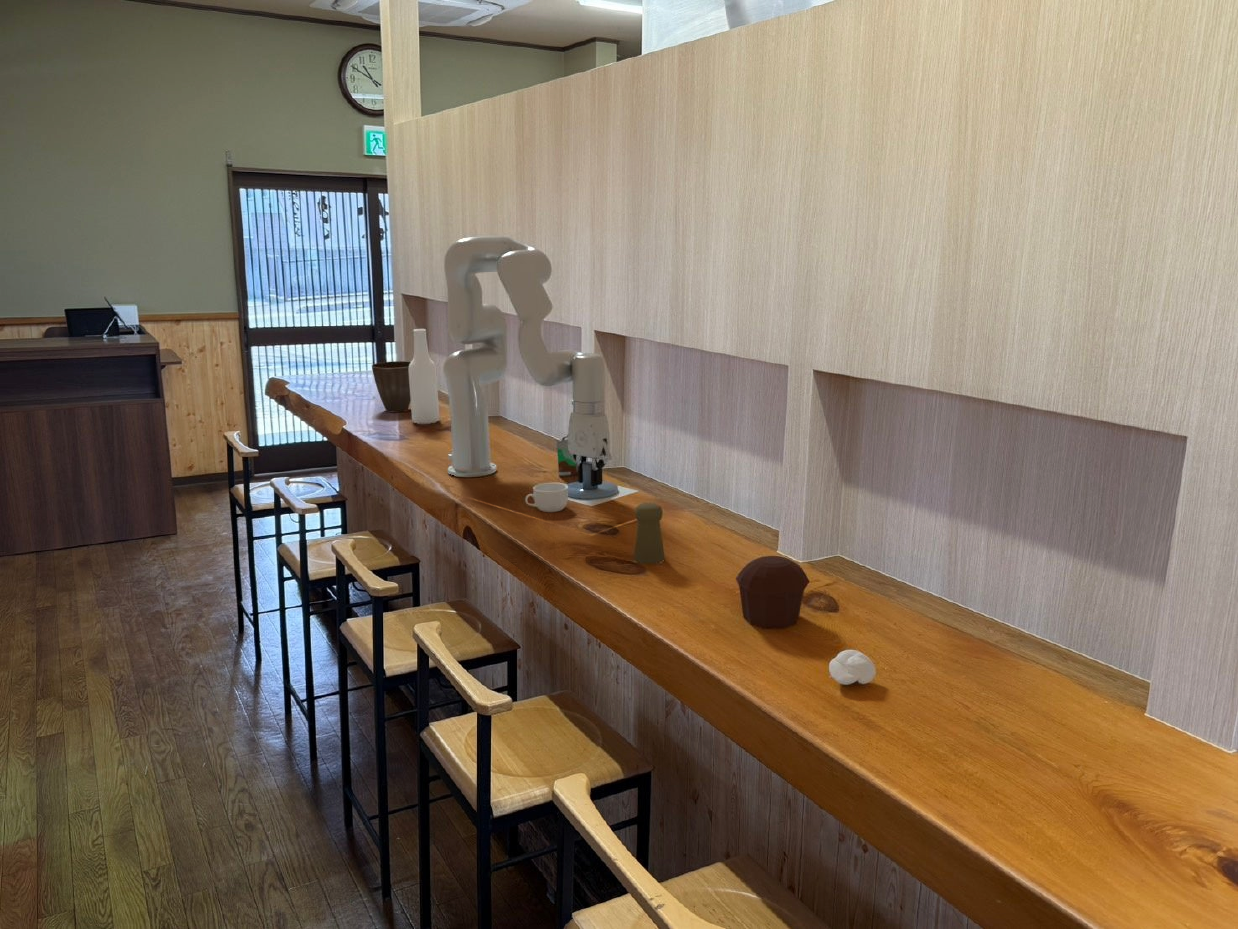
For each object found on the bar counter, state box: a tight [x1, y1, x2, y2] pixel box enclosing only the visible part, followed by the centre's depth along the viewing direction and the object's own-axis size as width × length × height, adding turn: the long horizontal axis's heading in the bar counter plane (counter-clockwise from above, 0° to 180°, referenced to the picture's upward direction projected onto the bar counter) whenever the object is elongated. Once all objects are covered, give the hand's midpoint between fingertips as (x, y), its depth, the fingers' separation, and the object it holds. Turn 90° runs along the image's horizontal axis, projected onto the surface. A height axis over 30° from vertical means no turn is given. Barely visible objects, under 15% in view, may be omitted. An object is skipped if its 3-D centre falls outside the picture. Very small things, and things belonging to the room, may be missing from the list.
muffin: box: [735, 555, 810, 630], centre depth 152 cm, size 12×11×10 cm
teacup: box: [524, 482, 569, 513], centre depth 211 cm, size 10×8×5 cm
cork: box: [633, 502, 666, 565], centre depth 179 cm, size 6×6×11 cm
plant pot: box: [371, 360, 411, 412], centre depth 325 cm, size 15×15×16 cm
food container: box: [556, 434, 578, 478], centre depth 240 cm, size 12×6×10 cm, turn 168°
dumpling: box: [828, 649, 877, 686], centre depth 131 cm, size 7×5×4 cm
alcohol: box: [408, 328, 440, 425], centre depth 303 cm, size 9×9×30 cm
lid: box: [566, 460, 619, 499], centre depth 223 cm, size 13×13×7 cm
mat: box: [568, 485, 640, 507], centre depth 224 cm, size 16×16×1 cm
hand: (590, 482), depth 223 cm, fingers closed on lid, 3 cm apart
